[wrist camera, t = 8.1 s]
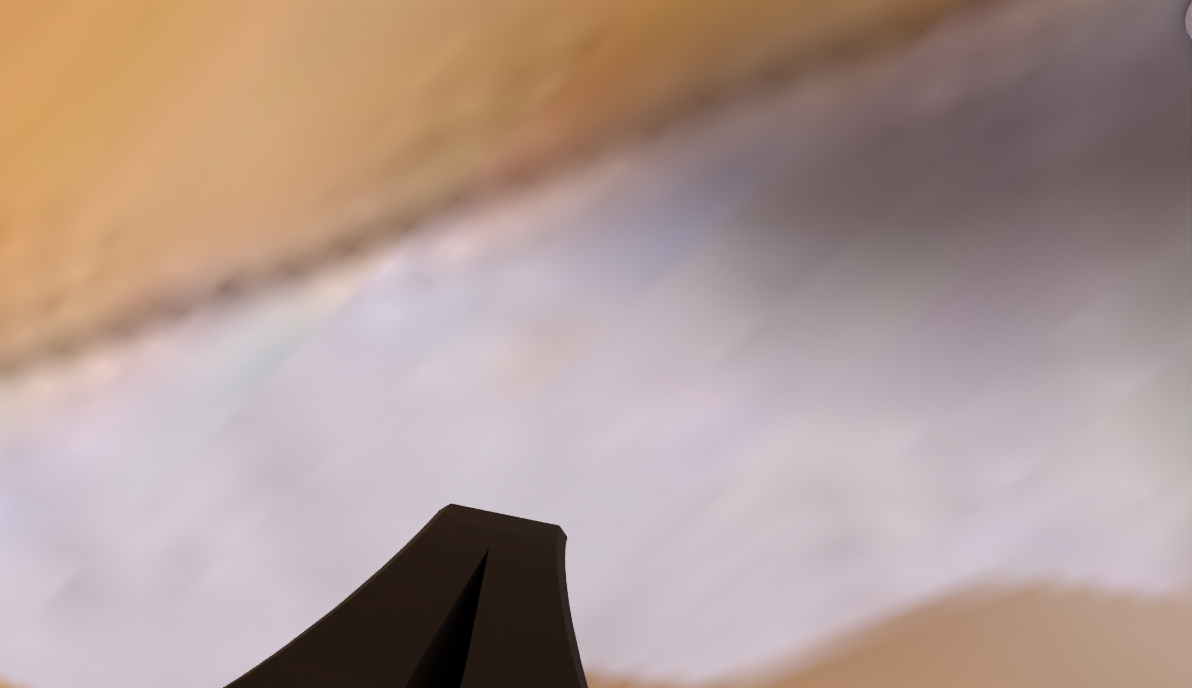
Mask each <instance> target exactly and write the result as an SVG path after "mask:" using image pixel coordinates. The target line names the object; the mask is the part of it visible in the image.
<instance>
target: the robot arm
mask: <svg viewBox="0 0 1192 688" xmlns="http://www.w3.org/2000/svg"><path fill="white" fill-rule="evenodd" d="M1185 24H1186V31H1187V33H1188V34H1189V36H1190V38H1191V39H1192V2H1191V4H1190V5H1189V7H1188V10H1187V13H1186V17H1185ZM566 541H567V536H566V534H565V533H564V532H563V530H562V529H561V527H560V526H559V525H554V524H549V523H544V522H539V521H534V520H529V519H524V518H519V517H514V516H509V515H505V514H500V513H495V512H490V511H485V510H480V509H475V508H470V507H465V506H460V505H455V504H449V505H447V506H446V507H444V508H442V509H441V510H439V511H438V512H437V514H436V515H435V516H434V517H433V518H432V519H431V520H430V521H429V522H428V523H427V524H426V525H425V526H424V527H423V528H422V529H421V530H420V531H419V532H418V533H417V534H416V535H415V536H414V537H413V538H412V539H411V540H410V541H409V542H408V543H407V544H406V545H405V546H404V547H403V548H402V549H401V550H400V551H399V552H398V553H397V554H396V555H395V556H394V557H393V558H392V559H390V560H389V561H388V562H387V563H386V564H385V565H384V566H383V567H382V568H381V569H380V570H378V571H377V572H376V573H375V574H374V575H373V576H372V577H370V578H369V579H368V580H367V581H366V582H365V583H363V584H362V585H361V586H360V587H359V588H358V589H357V590H355V591H354V592H353V593H352V594H351V595H350V596H348V597H347V598H346V599H345V600H344V601H343V602H341V603H340V604H339V605H338V606H337V607H335V608H334V609H333V610H332V611H330V612H329V613H328V614H326V615H325V616H324V617H322V618H321V619H320V620H319V621H317V622H316V623H315V624H313V625H312V626H311V627H309V628H308V629H307V630H305V631H304V632H303V633H301V634H300V635H299V636H298V637H296V638H295V639H294V640H292V641H291V642H290V643H288V644H287V645H286V646H284V647H283V648H282V649H280V650H279V651H278V652H276V653H275V654H273V655H272V656H270V657H269V658H267V659H266V660H265V661H263V662H262V663H260V664H259V665H257V666H256V667H254V668H253V669H251V670H250V671H248V672H247V673H245V674H244V675H242V676H241V677H239V678H238V679H236V680H235V681H233V682H231V683H230V684H228V685H227V686H225V687H223V688H588V686H587V682H586V678H585V675H584V671H583V667H582V664H581V659H580V655H579V650H578V646H577V641H576V637H575V632H574V628H573V623H572V618H571V612H570V606H569V599H568V591H567V583H566V571H565V547H566Z"/></svg>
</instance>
